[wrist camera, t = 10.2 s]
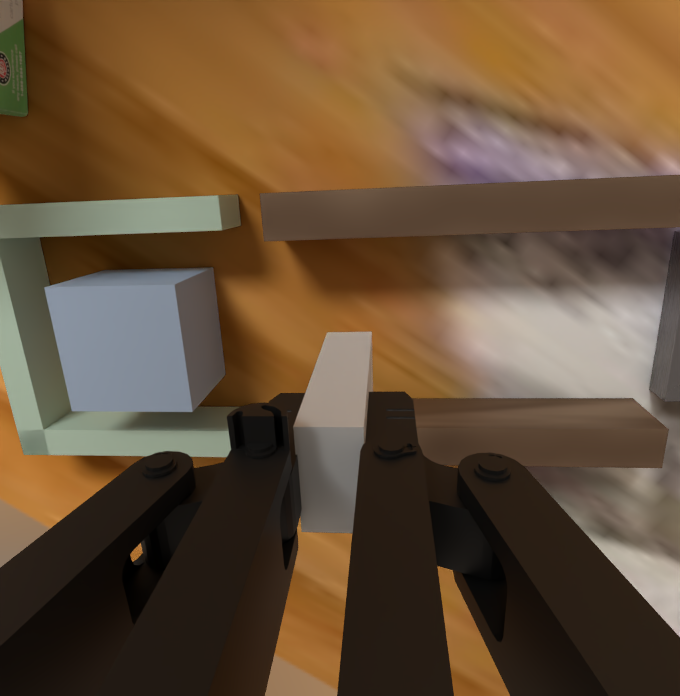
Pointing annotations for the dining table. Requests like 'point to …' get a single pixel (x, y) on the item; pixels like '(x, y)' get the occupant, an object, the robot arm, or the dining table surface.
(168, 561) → the robot arm
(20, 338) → the frame
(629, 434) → the channel
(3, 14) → the ink box
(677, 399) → the bar
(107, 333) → the block
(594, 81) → the dining table surface
